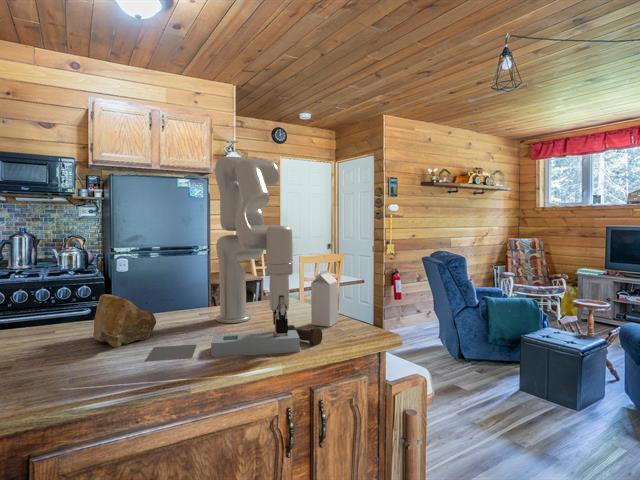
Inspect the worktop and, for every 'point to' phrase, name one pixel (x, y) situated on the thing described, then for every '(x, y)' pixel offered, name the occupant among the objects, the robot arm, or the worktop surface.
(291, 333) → the hole block
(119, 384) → the worktop surface
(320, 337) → the bolt
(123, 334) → the rough brown rock
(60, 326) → the worktop surface
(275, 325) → the peg
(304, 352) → the worktop surface
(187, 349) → the mat
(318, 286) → the milk carton
